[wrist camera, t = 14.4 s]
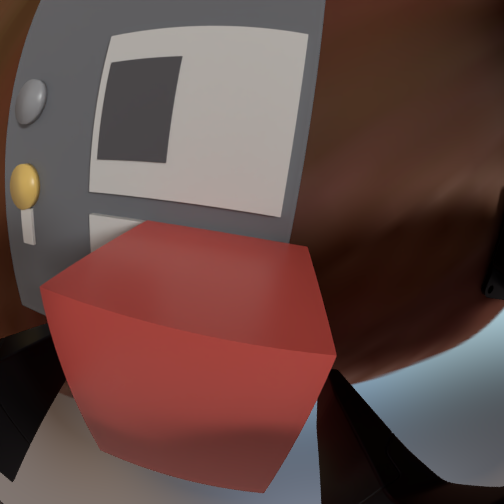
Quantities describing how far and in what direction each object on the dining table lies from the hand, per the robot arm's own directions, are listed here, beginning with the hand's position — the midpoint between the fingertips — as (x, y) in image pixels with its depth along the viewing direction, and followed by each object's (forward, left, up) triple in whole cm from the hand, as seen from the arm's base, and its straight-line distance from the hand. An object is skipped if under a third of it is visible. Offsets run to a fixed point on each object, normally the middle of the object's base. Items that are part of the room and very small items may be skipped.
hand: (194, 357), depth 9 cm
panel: (+5, -8, -5) cm, 10 cm away
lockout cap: (0, 0, -3) cm, 3 cm away
